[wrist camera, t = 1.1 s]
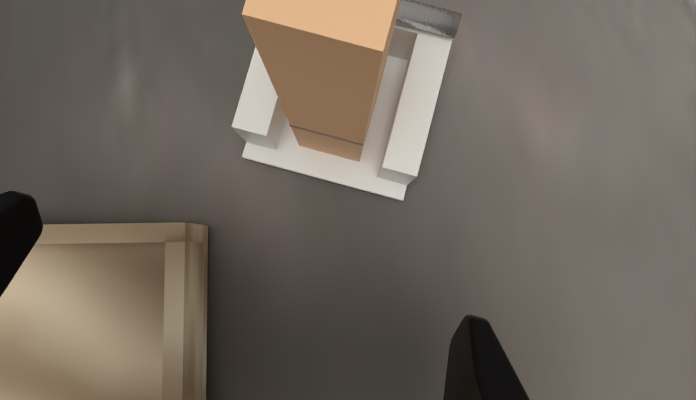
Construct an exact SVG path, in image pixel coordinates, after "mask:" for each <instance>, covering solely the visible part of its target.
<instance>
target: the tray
mask: <svg viewBox="0 0 696 400" xmlns="http://www.w3.org/2000/svg"><path fill="white" fill-rule="evenodd" d="M207 273H208V225H201V224H194V223H186V222H177V223H110V224H44V225H43V230H42V233H41V235H40V237H39V239H38V240H37V242H36V243H35V245H34V246H33V248H32V250H31V251H30V253H29V254H28V256H27V257H26V259H25V260H24V262H23V264H22V265H21V267H20V268H19V270H18V271H17V273H16V274H15V276H14V278H13V279H12V281H11V282H10V284H9V285H8V287H7V288H6V290H5V291H4V293H3V294H2V296H1V297H0V400H206V358H207Z"/></svg>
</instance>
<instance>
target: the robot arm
mask: <svg viewBox="0 0 696 400" xmlns="http://www.w3.org/2000/svg"><path fill="white" fill-rule="evenodd" d="M42 230H43V223H42V219H41V216H40V213H39V210H38V207H37V204H36V201H35V199H34V198H33V197H32V196H30V195H27V194H24V193H20V192H16V191H8V192H5V193H2V194H0V297H1V296H2V294H3V293H4V291H5V290H6V288H7V287H8V285H9V284H10V282H11V281H12V279H13V278H14V276H15V274H16V273H17V271H18V270H19V268H20V267H21V265H22V264H23V262H24V260H25V259H26V257H27V256H28V254H29V253H30V251H31V250H32V248H33V246H34V245H35V243H36V242H37V240H38V239H39V237H40V235H41V233H42ZM443 400H530V399H529V397H528V396H527V394H526V392H525V390H524V388H523V386H522V384H521V382H520V380H519V378H518V377H517V375H516V373H515V371H514V369H513V367H512V365H511V363H510V361H509V359H508V358H507V356H506V354H505V352H504V350H503V348H502V346H501V344H500V342H499V340H498V339H497V337H496V335H495V333H494V331H493V329H492V327H491V325H490V323H489V322H488V321H487V320H486V319H484V318H481V317H477V316H473V315H466V316H465V317H464V318H463V320H462V322H461V323H460V325H459V327H458V328H457V330H456V332H455V333H454V335H453V337H452V339H451V343H450V348H449V357H448V365H447V373H446V382H445V390H444V398H443Z"/></svg>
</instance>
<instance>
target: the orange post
mask: <svg viewBox="0 0 696 400" xmlns="http://www.w3.org/2000/svg"><path fill="white" fill-rule="evenodd" d="M400 3H401V0H246V2H245V5H244V9H243V12H242V16H243V18H244V20H245V23H246V25H247V27H248V29H249V32H250V34H251V36H252V39H253V41H254V43H255V46H256V48H257V50H258V52H259V55H260V57H261V59H262V62H263V64H264V66H265V68H266V71H267V73H268V75H269V78H270V80H271V82H272V85H273V87H274V89H275V91H276V94H277V96H278V98H279V101H280V103H281V105H282V108H283V110H284V112H285V114H286V117H287V119H288V121H289V125H290V127H291V128H292V130H293V133H294V135H295V137H296V140H297V142H298V144H299V146H302V147H306V148H309V149H313V150H317V151H320V152H324V153H328V154H332V155H335V156H339V157H343V158H346V159H350V160H354V161H358V162H359V161H360V158H361V154H362V150H363V147H364V143H365V139H366V135H367V132H368V128H369V124H370V121H371V117H372V113H373V110H374V106H375V102H376V99H377V95H378V91H379V87H380V84H381V80H382V76H383V73H384V68H385V64H386V60H387V57H388V53H389V49H390V45H391V42H392V38H393V32H394V28H395V23H396V19H397V15H398V11H399V7H400Z"/></svg>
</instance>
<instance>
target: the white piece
mask: <svg viewBox="0 0 696 400" xmlns="http://www.w3.org/2000/svg"><path fill="white" fill-rule="evenodd" d="M461 15H462V14H461V13H458V12H454V11H450V10H446V9H442V8H439V7H435V6H431V5H427V4H424V3H420V2H416V1H412V0H401V3H400V7H399V11H398V15H397V19H396V23H395V28H394V32H393V38H392V42H391V45H390V49H389V53H388V57H387V60H386V64H385V68H384V73H383V76H382V80H381V84H380V87H379V91H378V95H377V99H376V102H375V106H374V110H373V113H372V117H371V121H370V124H369V128H368V132H367V135H366V139H365V143H364V147H363V150H362V154H361V158H360V161H359V162H358V161H354V160H350V159H346V158H343V157H339V156H335V155H332V154H328V153H324V152H320V151H317V150H313V149H309V148H306V147H302V146H299V144H298V142H297V140H296V137H295V135H294V133H293V130H292V128H291V127H290V125H289V121H288V119H287V117H286V114H285V112H284V110H283V108H282V105H281V103H280V101H279V98H278V96H277V94H276V91H275V89H274V87H273V85H272V82H271V80H270V78H269V75H268V73H267V71H266V68H265V66H264V64H263V62H262V59H261V57H260V55H259V52H258V50H257V48H256V47H255V50H254V54H253V57H252V61H251V64H250V67H249V71H248V74H247V77H246V81H245V84H244V87H243V91H242V94H241V97H240V101H239V104H238V107H237V111H236V114H235V117H234V121H233V124H232V128H233V129H234V130H235V131H236V132H237V133H238V134H239V135H240V136H241V137H242V138H243V139H244V140H245V141H246V145H245V148H244V152H243V155H242V158H244V159H247V160H251V161H255V162H258V163H262V164H266V165H269V166H273V167H277V168H281V169H284V170H288V171H292V172H295V173H299V174H303V175H307V176H310V177H314V178H318V179H321V180H325V181H329V182H332V183H336V184H340V185H344V186H347V187H351V188H355V189H358V190H362V191H366V192H370V193H373V194H377V195H381V196H384V197H388V198H392V199H396V200H399V201H403V199H404V195H405V191H406V187H407V185H408V184H409V183H410V182H411V181H413V180H414V179H415V178H416V177H417V175H418V171H419V167H420V163H421V159H422V155H423V152H424V148H425V144H426V140H427V136H428V132H429V128H430V124H431V120H432V117H433V113H434V109H435V105H436V101H437V97H438V93H439V89H440V86H441V82H442V78H443V74H444V70H445V66H446V62H447V58H448V55H449V51H450V47H451V43H452V39H453V38H454V37H455V35H456V33H457V30H458V27H459V24H460V20H461Z"/></svg>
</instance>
